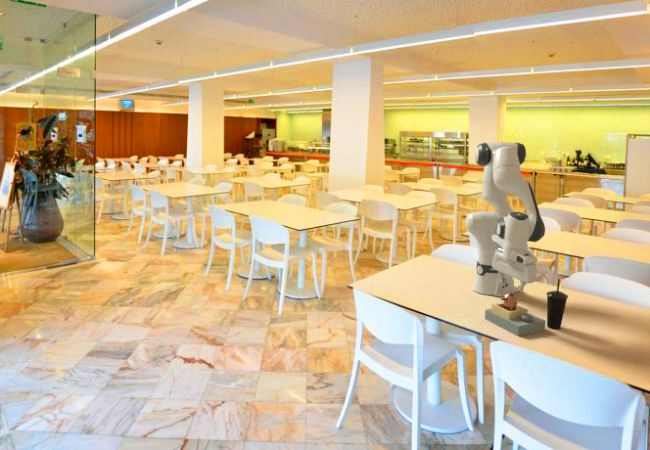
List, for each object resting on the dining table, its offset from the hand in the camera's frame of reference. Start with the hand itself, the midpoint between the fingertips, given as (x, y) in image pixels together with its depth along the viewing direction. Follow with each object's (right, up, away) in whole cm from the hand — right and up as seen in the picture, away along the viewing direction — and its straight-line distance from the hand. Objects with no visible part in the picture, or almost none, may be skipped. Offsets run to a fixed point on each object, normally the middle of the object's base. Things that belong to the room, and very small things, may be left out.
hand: (511, 286), depth 192 cm
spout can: (0, -11, +2) cm, 11 cm away
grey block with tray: (+2, -16, +1) cm, 16 cm away
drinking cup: (+17, -16, -1) cm, 23 cm away
